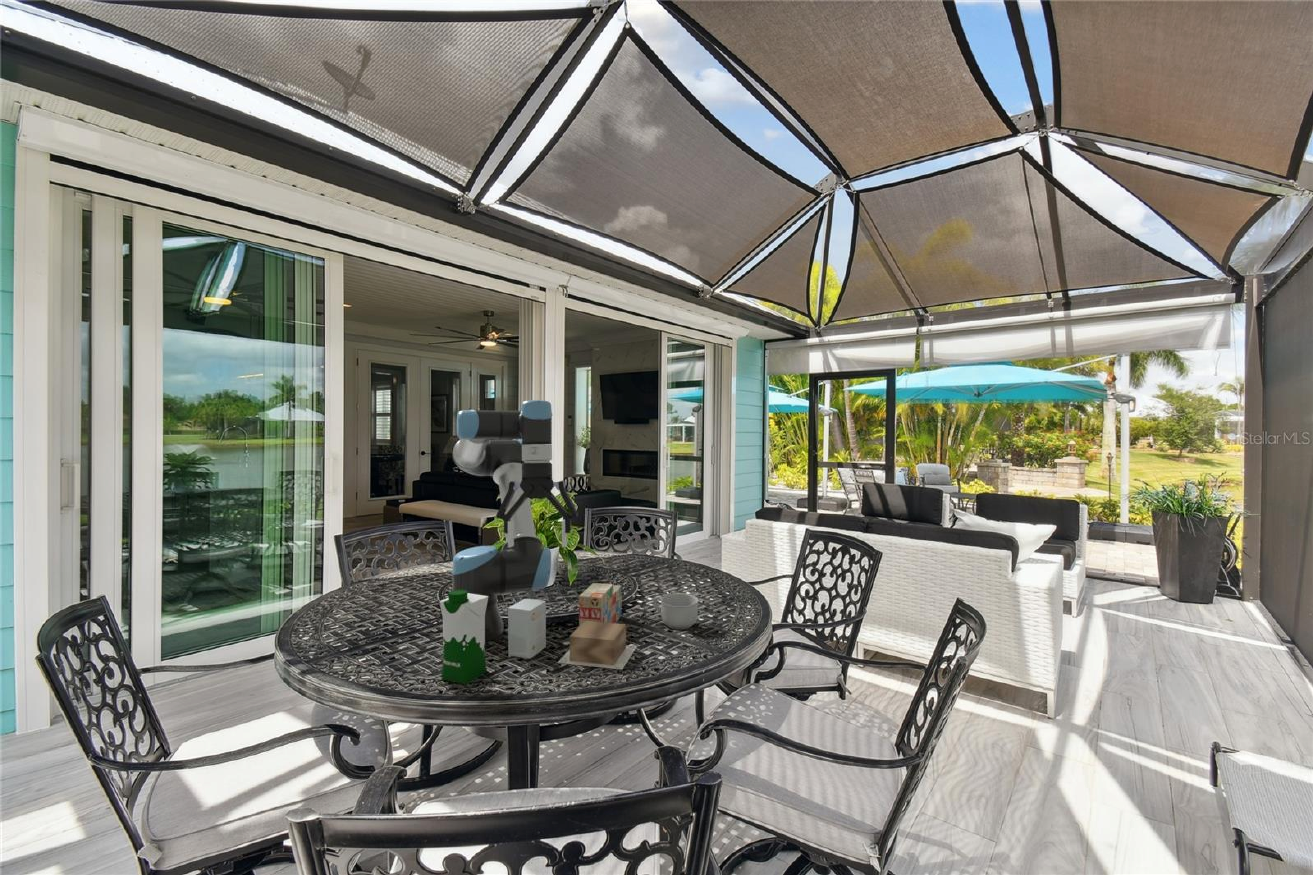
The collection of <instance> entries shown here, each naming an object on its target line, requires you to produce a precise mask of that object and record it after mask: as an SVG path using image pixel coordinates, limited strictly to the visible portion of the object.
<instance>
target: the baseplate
mask: <svg viewBox="0 0 1313 875" xmlns="http://www.w3.org/2000/svg"><path fill="white" fill-rule="evenodd" d="M637 647H638V646H637V645H635V644H633V643H631V644H629V645H627V644H626V648H625V650H624V651H623V653H622V654H621V656H620V657H619V659H618V660H617V662H616V663H615V664H614V665H604V664H594V663H584V662H574V661H570V649H568V651H567V652H565V654H564V655H563V656H561V657H560V659H559V660H558V662H557V664H566V665H575V666H587V667H595V668H596V667H597V668H604V669H614V670H615V669H616V670H623V669H624V668H625V667H626V664H627V663H628V661H629V660H630V658H631V656H632V655H633V654H634V652H635V651H636V649H637Z"/></svg>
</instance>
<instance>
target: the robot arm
mask: <svg viewBox="0 0 1313 875" xmlns="http://www.w3.org/2000/svg"><path fill="white" fill-rule="evenodd" d="M552 420H553V413H552V404H551V402H550V401H548V400H539V399H537V400H525V401H523V402H522V403H521V410H479V409H478V410H475V409H468V410H467V409H465V410H459V411H458V412H457V414H456V436H457V437H458V439H459V440H458V441H457V442H456V443H455V444H454V446H453V449H452V460H453V462H454V464H455V465H456V466H457V467H458V468H459V469H460V470H461V471H463V472H465V473H467V474H470V475H473V476H477V477H487V476H488V477H489V476H490V477H492V479H493V481H494V483H495V484H497V485H498V487H499V488H498V489H499V496H500V503H501V504H500V506H499V509H498V511H497V512H496V515H495V517H496V518H497V519H501V520H502V521H503V533H504V535H505V543H504V544H503V545H502V548H501V550H499V551H498V549H497V547H496V546H495V545H480V546H474V547H469V548H466V549H464V550H463V549H462V550H461V551H459V552H457V553H456V554H455V555H454V556H453V558H452V568H451V574H452V591H453V590H466V591H467V593H471V594H477V595H483V596H489V597H488V602H487V607H486V612H485V643H486V642H490V641H493V640H495V639H497V638H499V637H500V636H502V635H503V634H504V621H503V617H502V615H501V612H500V610H499V606H498V595H501V594H503V595H504V594H513V593H521V592H523V593H524V592H533V591H537V590H538V591H539V590H544V589H545V588H546V587H548V584H549V582H550V578H551V573H552V572H551V571H552V570H551V569H552V551H551V549H550V548H549V547H548V546H544V545H543V542H542V539H540V538H539V537H537V535H536V529H535V524H534V518H533V511H532V506H531V500H535V499H538V500H543V499H546V500H547V501H549V502H550V504H551V505H552V506H553V507H554V508H555V510H556V511H557V512H558V513H559V515H561V517H562V518H563V519H562V520H561V547H562V548H565V547H567V545H568V534H569V533H571V532H572V520H573V519H575V518H577V517H578V516H579V512H578V510H577V508H576V507H575V504H574V502H573V501H572V498H571V497H570V495H569V492H568V490H567V488H566V481H565V480H560V481H554V480H553V463H552V462H550V461H552V460H553V444H552V442H553V440H552V439H553V436H552V435H553V431H552V430H553V425H552V424H553V422H552ZM554 487H555V488H556V490H557V491H558V492H559V494H560V495H561V497H562V499H563V501H564V503H565V505H566V507H567V509H568V511H567V509H566V508H565V507H564V506H563V504H562V503H561V502H560V500H558V499H557V498H556V496H555V494H553V491H552V490H553V489H554Z"/></svg>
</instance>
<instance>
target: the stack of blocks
mask: <svg viewBox="0 0 1313 875" xmlns="http://www.w3.org/2000/svg"><path fill="white" fill-rule="evenodd" d="M622 598H623V596H622V585H618V584H617V585H616V584H615V585H614V584H612V583H600V582H599V583H595V582H592V583H591V584H590V586H588V587H587V589H585V590H584V591H583V592H582V593H581V594H579V595H578V627H579V626H580V625H581V624H582V623H583V622H584V621H593V622H605V623H616V624H617V622H618V621H619V619H620V618H621V617H622V605H623V604H622V601H623V600H622Z"/></svg>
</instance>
